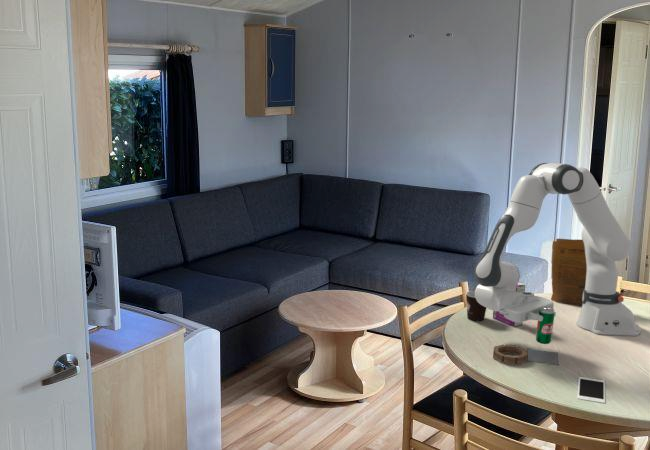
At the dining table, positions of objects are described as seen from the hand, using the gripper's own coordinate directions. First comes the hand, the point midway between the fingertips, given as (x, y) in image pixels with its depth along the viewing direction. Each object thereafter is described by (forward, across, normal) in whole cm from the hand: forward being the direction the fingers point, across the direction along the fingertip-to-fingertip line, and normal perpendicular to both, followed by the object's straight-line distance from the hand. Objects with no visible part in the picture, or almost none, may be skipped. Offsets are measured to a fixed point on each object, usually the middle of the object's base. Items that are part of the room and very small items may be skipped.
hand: (548, 316), depth 242 cm
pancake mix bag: (-27, +56, +15) cm, 64 cm away
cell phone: (+23, -8, +16) cm, 29 cm away
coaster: (-1, 0, +15) cm, 15 cm away
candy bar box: (-29, +18, +15) cm, 38 cm away
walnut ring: (-7, -10, +15) cm, 19 cm away
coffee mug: (-40, +11, +15) cm, 44 cm away
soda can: (-1, 0, +10) cm, 10 cm away
